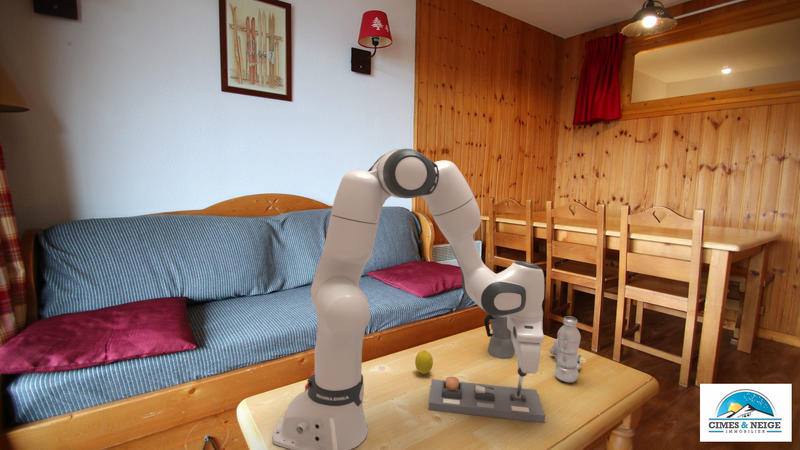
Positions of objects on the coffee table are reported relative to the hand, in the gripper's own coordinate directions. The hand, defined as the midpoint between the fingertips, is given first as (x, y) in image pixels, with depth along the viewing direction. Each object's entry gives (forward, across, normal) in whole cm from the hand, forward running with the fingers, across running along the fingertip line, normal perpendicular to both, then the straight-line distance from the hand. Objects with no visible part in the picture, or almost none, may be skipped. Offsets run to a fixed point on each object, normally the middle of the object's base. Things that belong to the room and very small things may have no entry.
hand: (521, 371), depth 103 cm
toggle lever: (+8, -1, 0) cm, 8 cm away
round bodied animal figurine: (+12, -29, +20) cm, 37 cm away
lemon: (+11, -13, -27) cm, 32 cm away
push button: (+7, -1, -18) cm, 20 cm away
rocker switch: (+7, -1, -9) cm, 12 cm away
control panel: (+11, -1, -10) cm, 14 cm away
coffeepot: (+11, -32, -2) cm, 34 cm away
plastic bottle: (+12, -18, +17) cm, 27 cm away
